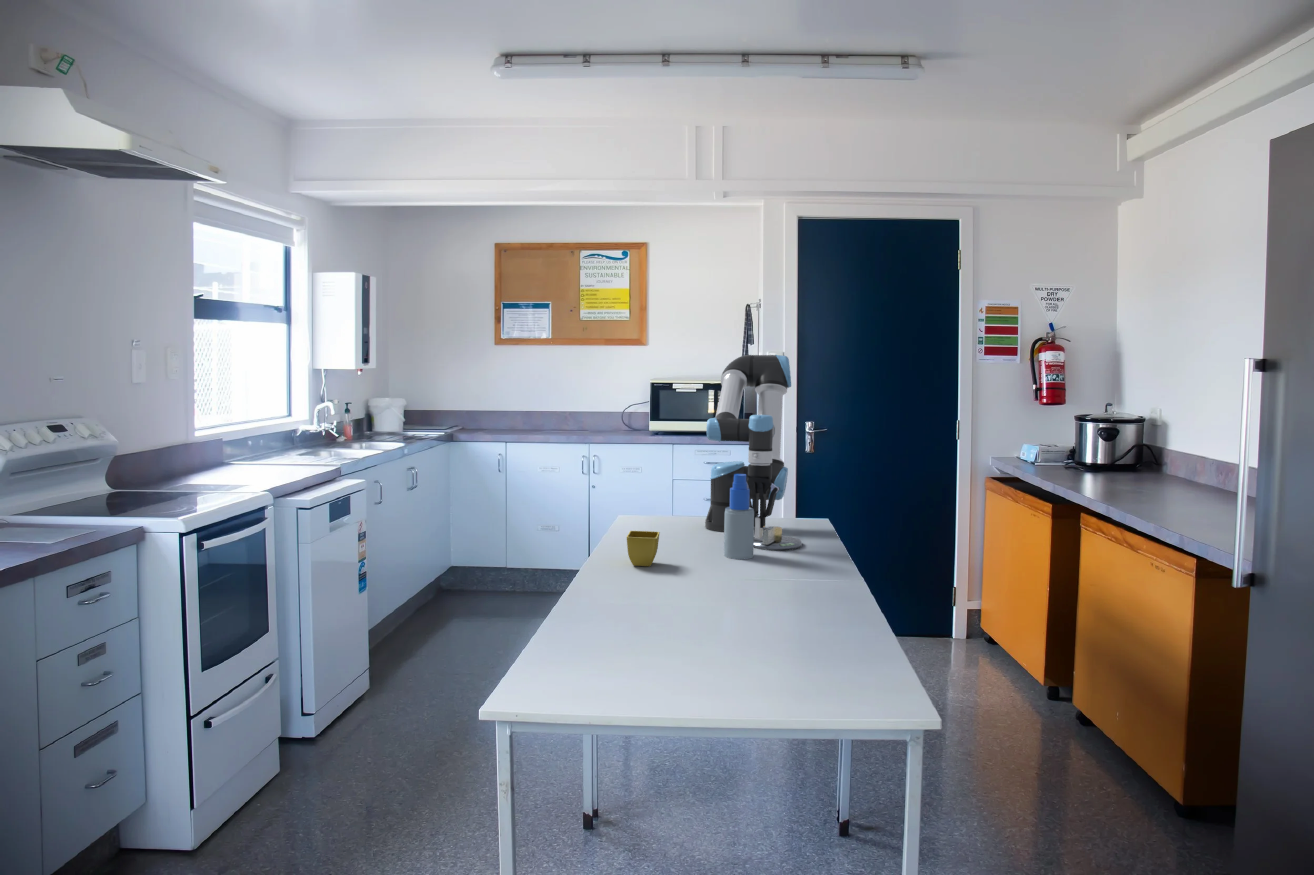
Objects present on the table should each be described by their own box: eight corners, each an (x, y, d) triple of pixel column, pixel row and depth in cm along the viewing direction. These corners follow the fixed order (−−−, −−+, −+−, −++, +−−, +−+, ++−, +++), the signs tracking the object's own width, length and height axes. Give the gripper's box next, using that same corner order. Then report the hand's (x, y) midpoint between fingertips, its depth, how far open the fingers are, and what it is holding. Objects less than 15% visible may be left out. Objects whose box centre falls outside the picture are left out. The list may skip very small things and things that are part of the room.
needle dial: (770, 537, 264) (771, 523, 263) (783, 539, 262) (784, 525, 261) (758, 544, 254) (759, 529, 254) (771, 546, 252) (772, 531, 252)
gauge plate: (754, 537, 272) (754, 532, 271) (805, 541, 266) (805, 536, 266) (743, 548, 256) (743, 543, 255) (796, 552, 250) (796, 548, 250)
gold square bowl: (659, 561, 238) (659, 531, 238) (656, 568, 230) (656, 537, 229) (630, 560, 239) (630, 530, 238) (626, 567, 231) (626, 536, 230)
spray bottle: (751, 552, 250) (753, 472, 248) (754, 559, 241) (756, 476, 239) (723, 552, 250) (724, 472, 248) (724, 559, 241) (726, 476, 239)
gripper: (736, 463, 255) (735, 537, 257) (775, 466, 248) (773, 542, 250) (745, 461, 261) (744, 533, 263) (783, 464, 255) (782, 537, 257)
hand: (758, 537), depth 257 cm, fingers closed
